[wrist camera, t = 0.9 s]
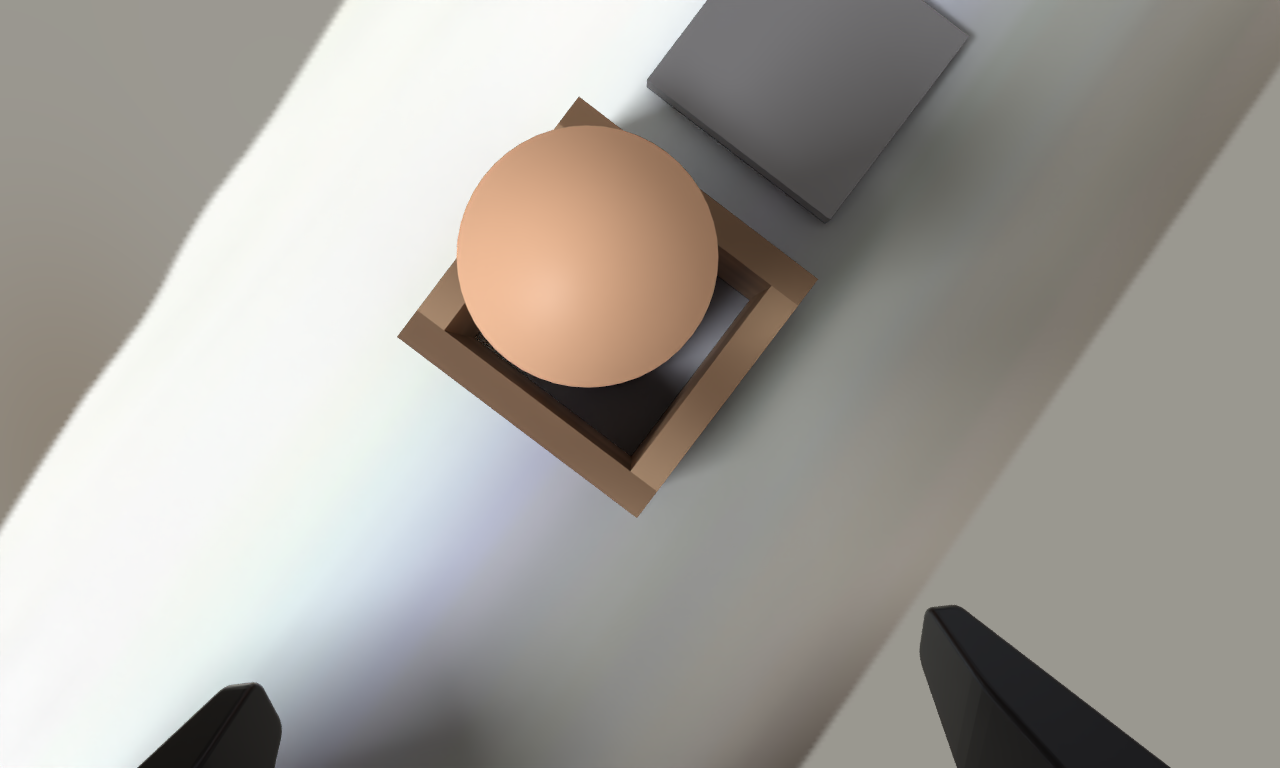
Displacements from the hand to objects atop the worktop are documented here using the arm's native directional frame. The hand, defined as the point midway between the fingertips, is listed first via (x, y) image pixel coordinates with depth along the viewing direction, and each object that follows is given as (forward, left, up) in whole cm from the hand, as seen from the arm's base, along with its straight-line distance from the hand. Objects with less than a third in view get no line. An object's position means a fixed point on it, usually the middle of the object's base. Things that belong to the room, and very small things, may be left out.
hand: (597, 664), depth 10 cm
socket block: (+6, 0, -16) cm, 17 cm away
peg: (+6, 0, -16) cm, 17 cm away
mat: (+14, -8, -16) cm, 23 cm away
